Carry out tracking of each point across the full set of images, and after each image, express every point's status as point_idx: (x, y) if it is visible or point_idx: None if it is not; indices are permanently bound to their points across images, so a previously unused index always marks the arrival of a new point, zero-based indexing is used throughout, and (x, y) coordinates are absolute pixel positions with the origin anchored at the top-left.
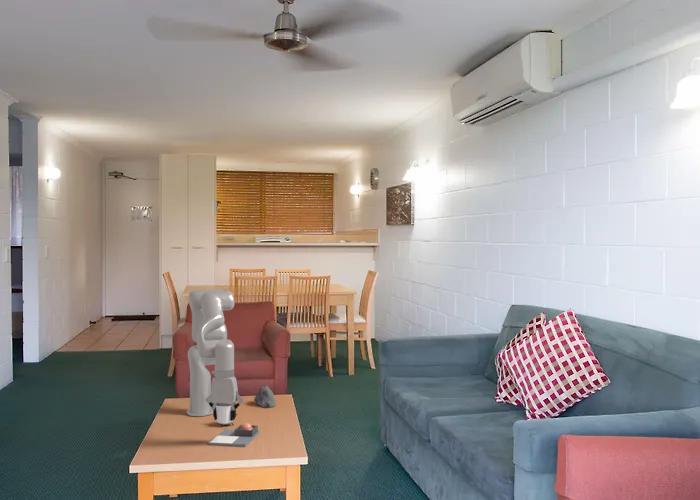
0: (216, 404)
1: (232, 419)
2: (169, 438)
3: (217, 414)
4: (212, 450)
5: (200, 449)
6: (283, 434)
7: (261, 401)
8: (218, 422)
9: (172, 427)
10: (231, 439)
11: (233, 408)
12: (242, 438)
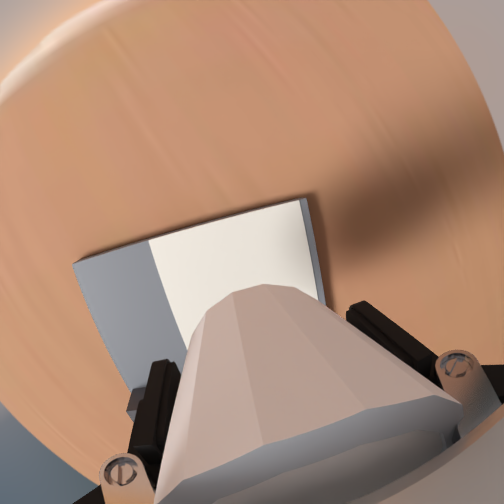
0: (459, 427)
1: (155, 372)
2: (483, 222)
3: (349, 326)
4: (215, 118)
5: (294, 110)
6: (86, 452)
7: None
8: (297, 289)
9: (497, 329)
10: (200, 307)
11: (122, 480)
12: (157, 351)
